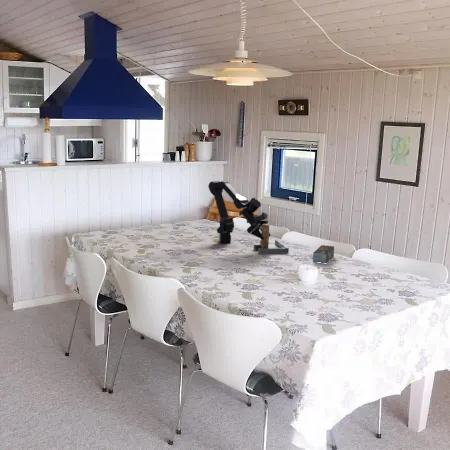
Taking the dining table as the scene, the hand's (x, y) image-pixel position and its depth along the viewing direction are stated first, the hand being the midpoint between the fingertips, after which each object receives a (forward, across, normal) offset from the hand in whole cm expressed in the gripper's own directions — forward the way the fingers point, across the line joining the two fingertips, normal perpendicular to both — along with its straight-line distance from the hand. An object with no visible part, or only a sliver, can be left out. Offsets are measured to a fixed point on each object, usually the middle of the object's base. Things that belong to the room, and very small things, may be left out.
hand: (266, 237), depth 314 cm
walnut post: (+5, 0, +7) cm, 9 cm away
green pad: (+4, +13, +8) cm, 16 cm away
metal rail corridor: (+5, +6, +7) cm, 11 cm away
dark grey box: (+30, +3, -17) cm, 35 cm away
